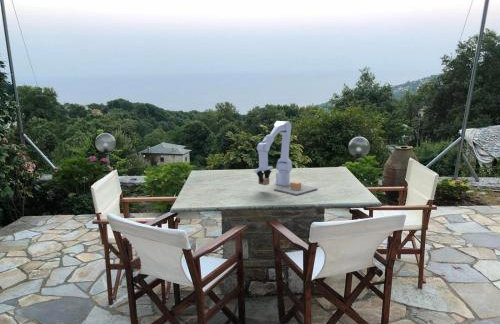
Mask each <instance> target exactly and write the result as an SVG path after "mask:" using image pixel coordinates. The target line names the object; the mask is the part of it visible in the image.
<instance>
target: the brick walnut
mask: <svg viewBox="0 0 500 324" xmlns="http://www.w3.org/2000/svg"><path fill="white" fill-rule="evenodd" d="M258 185H262V186H268V185H270V178H266V177H265V176H263V183H261V182H260V180H259V177H258Z"/></svg>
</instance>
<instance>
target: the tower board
mask: <svg viewBox="0 0 500 324" xmlns="http://www.w3.org/2000/svg"><path fill="white" fill-rule="evenodd" d="M273 190H274V191H275V192H276V191H277V192H280V193H284V194H288V195H292V196H300V195H304V194H308V193H310V192H314V191H315V192H316V191H317V190H318V187H312V186H307V185H303V184H301V189H298V190H296V189H291V188H290V185H287V186H279V187H275V188H273Z"/></svg>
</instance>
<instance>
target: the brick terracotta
mask: <svg viewBox="0 0 500 324" xmlns="http://www.w3.org/2000/svg"><path fill="white" fill-rule="evenodd" d="M301 185H302V182H299V181H295V180H294V181H290V188H291V189H296V190H298V189H301Z"/></svg>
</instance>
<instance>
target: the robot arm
mask: <svg viewBox="0 0 500 324" xmlns="http://www.w3.org/2000/svg"><path fill="white" fill-rule="evenodd" d="M279 133H280V134H281V135H282V136H281V149H280V158H278V159H277V162H276V167H275V168H276V170H277V172H276V174H275V183H274V184H275V185H278V186H281V187H283V186H287V185H290V182H291V178H290V177H291V176H290V175H291V174H290V173H291V172H292V171H293V161H292V160H291V159H290V157H289V155H290V143H291V141H290V139H291V133H292V124H291V122H290V121H289V120H286V121H282V120H281V121H280V120H276V121H275V122H274V124H273V129H272V130H271V132H270V134H266V135H265V137H264V138H263V139H262V141H261V142H259V143H258V144H257V146H256V150H257V153H258V167H257V168H255V169H254V170H253V172H254V173H255V174H256V175H257V177H258V178H259V179H258V181H259V180H260V182H261V183H263V177H266V178H269V177H270V176H271V174H272V170H273V169H274V167H273V166H271V165H270V166H269V154H268V153H269V151H270V148H271V145H272V144H273V142H274V141H275V137H276V136H277V135H278V134H279ZM269 179H270V178H269Z"/></svg>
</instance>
